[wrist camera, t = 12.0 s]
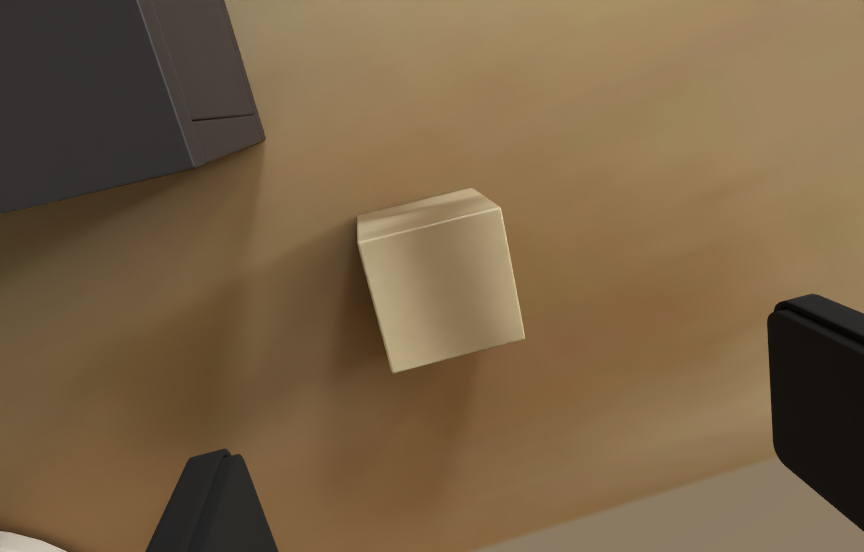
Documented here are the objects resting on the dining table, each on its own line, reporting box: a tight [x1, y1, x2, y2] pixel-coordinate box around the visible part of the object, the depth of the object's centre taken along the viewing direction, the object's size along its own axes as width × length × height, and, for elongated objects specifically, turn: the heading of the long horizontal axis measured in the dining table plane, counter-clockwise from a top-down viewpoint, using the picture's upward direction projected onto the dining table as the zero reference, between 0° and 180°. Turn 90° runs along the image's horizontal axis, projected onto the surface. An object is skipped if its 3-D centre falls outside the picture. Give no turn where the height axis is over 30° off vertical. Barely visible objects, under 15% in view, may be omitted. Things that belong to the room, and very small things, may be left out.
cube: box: [356, 188, 525, 373], centre depth 21 cm, size 4×4×4 cm
